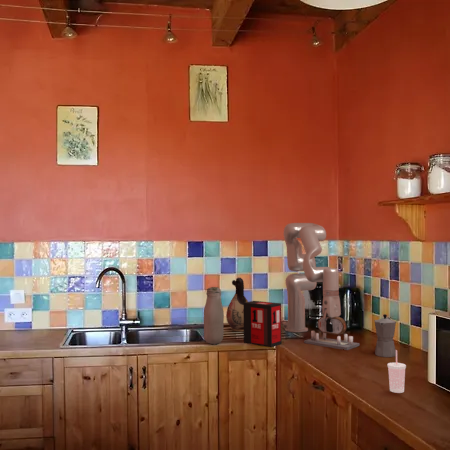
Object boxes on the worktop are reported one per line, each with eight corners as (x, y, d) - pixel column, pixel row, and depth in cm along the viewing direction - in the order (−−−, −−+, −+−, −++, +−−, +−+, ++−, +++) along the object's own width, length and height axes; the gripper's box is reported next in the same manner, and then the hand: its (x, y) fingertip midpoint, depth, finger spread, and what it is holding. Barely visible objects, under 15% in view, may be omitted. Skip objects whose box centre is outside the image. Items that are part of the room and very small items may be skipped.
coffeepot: (393, 359, 220) (392, 317, 220) (371, 356, 225) (370, 315, 225) (400, 351, 234) (399, 312, 234) (379, 349, 238) (378, 310, 239)
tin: (346, 335, 246) (346, 317, 247) (343, 336, 244) (343, 318, 244) (319, 331, 256) (320, 314, 257) (316, 332, 254) (316, 315, 255)
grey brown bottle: (206, 346, 248) (206, 288, 248) (201, 342, 258) (201, 286, 258) (226, 345, 251) (225, 287, 251) (220, 340, 261) (220, 285, 261)
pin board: (304, 343, 254) (304, 332, 254) (317, 339, 263) (317, 328, 263) (347, 350, 238) (346, 338, 238) (359, 345, 247) (359, 334, 247)
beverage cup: (402, 387, 180) (401, 348, 180) (409, 393, 174) (408, 352, 174) (385, 388, 180) (384, 348, 180) (391, 393, 174) (390, 352, 174)
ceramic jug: (222, 328, 293) (222, 276, 294) (248, 327, 298) (247, 275, 298) (232, 334, 277) (231, 278, 277) (258, 332, 282) (258, 277, 282)
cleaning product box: (243, 342, 256) (243, 302, 256) (254, 339, 263) (254, 300, 263) (271, 347, 245) (270, 305, 245) (281, 344, 252) (281, 303, 252)
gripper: (328, 295, 242) (329, 334, 242) (346, 292, 254) (346, 329, 254) (315, 294, 247) (315, 332, 247) (332, 291, 259) (333, 328, 259)
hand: (331, 330), depth 250 cm, fingers closed on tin, 2 cm apart
